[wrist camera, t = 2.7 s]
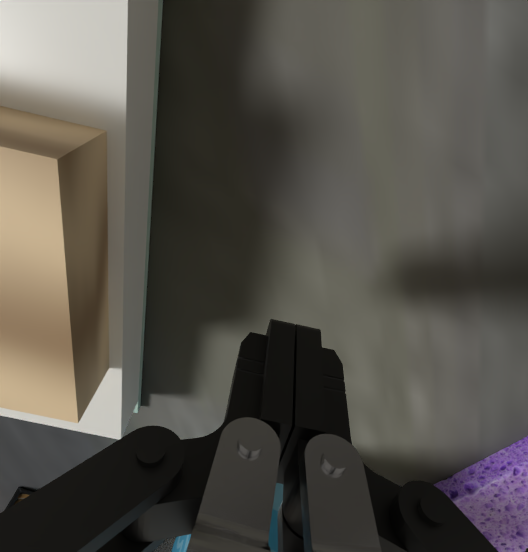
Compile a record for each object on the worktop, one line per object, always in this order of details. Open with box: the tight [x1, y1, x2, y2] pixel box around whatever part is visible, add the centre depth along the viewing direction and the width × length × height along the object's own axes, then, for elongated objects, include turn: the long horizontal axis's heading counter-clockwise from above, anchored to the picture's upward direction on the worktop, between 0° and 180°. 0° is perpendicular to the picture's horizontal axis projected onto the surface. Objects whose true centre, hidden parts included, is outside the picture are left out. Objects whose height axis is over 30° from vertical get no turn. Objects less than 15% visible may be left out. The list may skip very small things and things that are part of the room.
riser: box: [0, 0, 159, 440], centre depth 14 cm, size 18×8×2 cm, turn 168°
